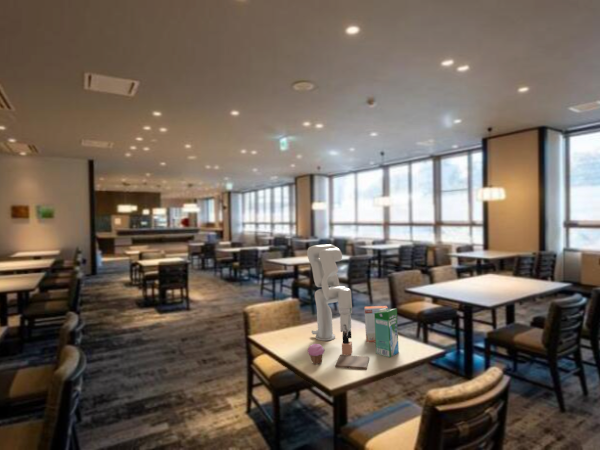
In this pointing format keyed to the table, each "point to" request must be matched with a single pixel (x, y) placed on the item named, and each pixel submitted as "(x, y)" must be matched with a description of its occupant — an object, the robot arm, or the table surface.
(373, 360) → the table surface
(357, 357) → the serving board
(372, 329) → the cracker box
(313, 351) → the cupcake
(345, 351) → the terracotta block
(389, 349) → the milk carton
